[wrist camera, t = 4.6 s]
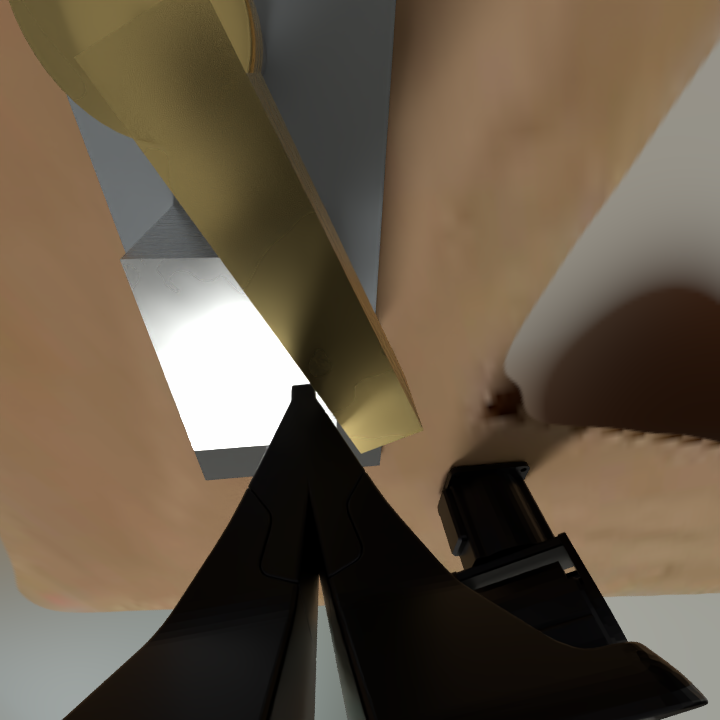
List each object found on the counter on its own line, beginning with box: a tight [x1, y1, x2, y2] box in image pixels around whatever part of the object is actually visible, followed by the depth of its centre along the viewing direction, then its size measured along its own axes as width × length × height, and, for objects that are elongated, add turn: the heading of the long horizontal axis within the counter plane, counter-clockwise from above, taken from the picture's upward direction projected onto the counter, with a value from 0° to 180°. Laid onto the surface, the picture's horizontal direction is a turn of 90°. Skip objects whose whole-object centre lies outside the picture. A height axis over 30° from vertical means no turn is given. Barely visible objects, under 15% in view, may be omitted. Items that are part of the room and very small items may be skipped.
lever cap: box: [120, 205, 337, 450], centre depth 13 cm, size 5×7×4 cm
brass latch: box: [9, 0, 423, 454], centre depth 8 cm, size 3×10×2 cm, turn 23°
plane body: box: [66, 0, 396, 312], centre depth 13 cm, size 9×15×8 cm, turn 178°
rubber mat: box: [168, 384, 382, 480], centre depth 23 cm, size 12×9×1 cm
